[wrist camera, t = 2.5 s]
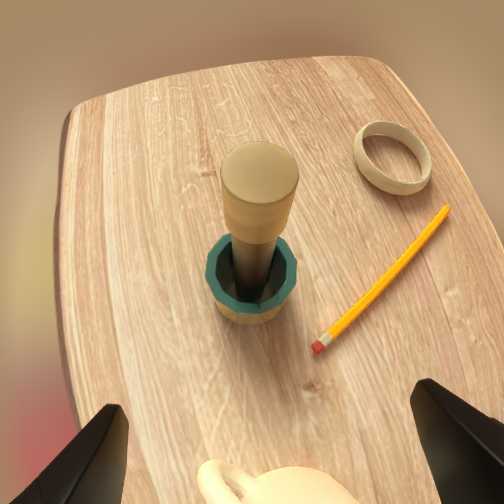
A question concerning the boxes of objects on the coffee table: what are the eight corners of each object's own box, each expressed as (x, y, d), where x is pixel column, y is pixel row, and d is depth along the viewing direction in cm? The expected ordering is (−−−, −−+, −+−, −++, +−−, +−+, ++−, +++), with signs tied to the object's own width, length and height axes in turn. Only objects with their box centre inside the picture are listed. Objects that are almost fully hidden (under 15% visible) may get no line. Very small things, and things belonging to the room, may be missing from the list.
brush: (254, 311, 22) (272, 219, 9) (225, 292, 22) (204, 178, 9) (273, 284, 23) (313, 163, 10) (245, 265, 23) (249, 130, 10)
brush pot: (259, 340, 22) (264, 331, 17) (199, 298, 23) (187, 279, 18) (298, 280, 23) (312, 257, 19) (240, 243, 24) (240, 212, 20)
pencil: (309, 346, 21) (311, 345, 21) (442, 207, 26) (446, 203, 25) (316, 354, 21) (319, 354, 21) (448, 213, 26) (452, 209, 25)
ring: (385, 211, 26) (394, 199, 24) (334, 142, 28) (339, 128, 26) (439, 182, 27) (448, 171, 25) (392, 123, 30) (398, 111, 28)
